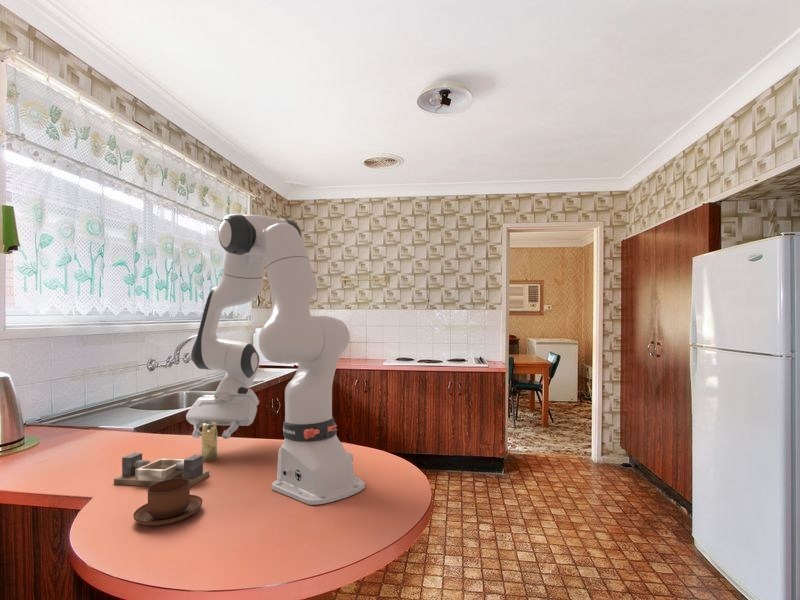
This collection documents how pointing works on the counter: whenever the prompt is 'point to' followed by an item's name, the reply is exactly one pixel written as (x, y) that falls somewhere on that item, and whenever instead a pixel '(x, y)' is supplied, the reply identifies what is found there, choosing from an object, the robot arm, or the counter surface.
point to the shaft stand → (160, 470)
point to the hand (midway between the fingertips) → (210, 437)
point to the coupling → (209, 442)
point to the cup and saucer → (168, 503)
